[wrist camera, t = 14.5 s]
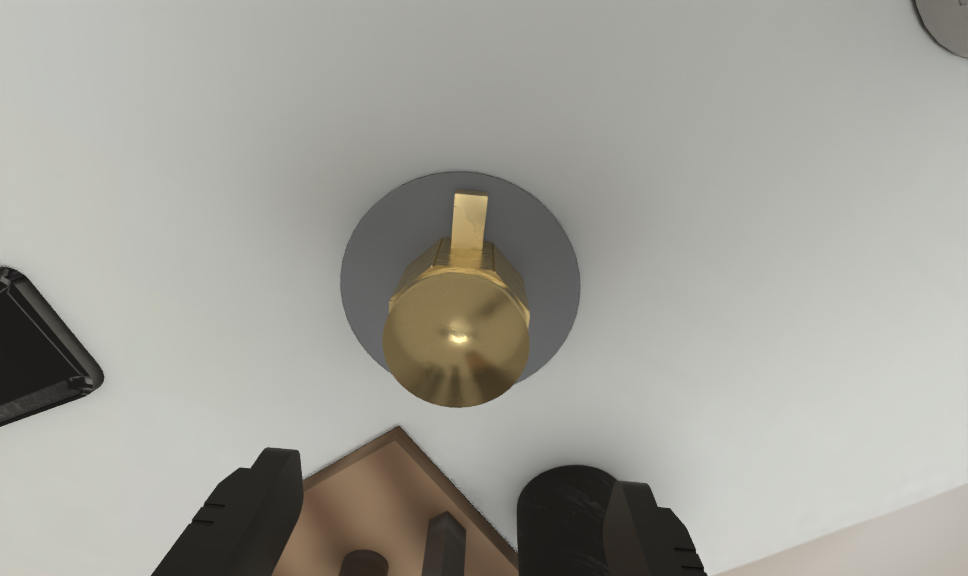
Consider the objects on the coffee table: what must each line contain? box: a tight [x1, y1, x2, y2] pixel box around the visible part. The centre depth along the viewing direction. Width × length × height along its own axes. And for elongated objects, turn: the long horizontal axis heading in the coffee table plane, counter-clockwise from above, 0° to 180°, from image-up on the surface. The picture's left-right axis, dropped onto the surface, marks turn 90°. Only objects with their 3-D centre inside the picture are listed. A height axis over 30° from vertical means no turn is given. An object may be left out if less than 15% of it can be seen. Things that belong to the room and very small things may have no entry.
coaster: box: [341, 172, 580, 384], centre depth 23 cm, size 12×12×1 cm
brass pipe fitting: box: [382, 189, 530, 408], centre depth 20 cm, size 11×6×5 cm, turn 174°
